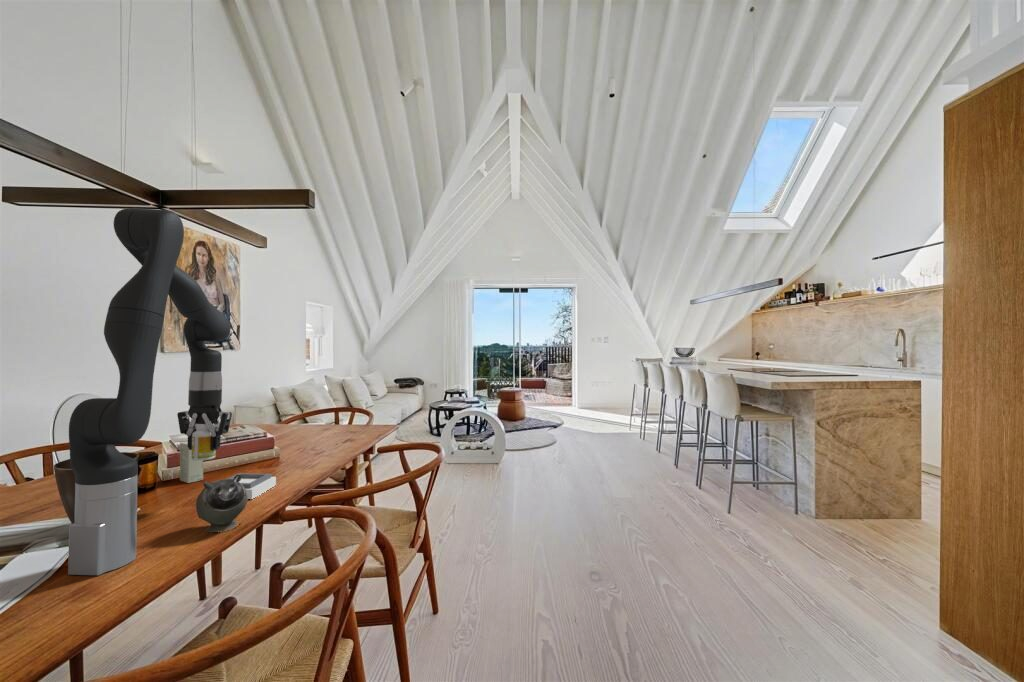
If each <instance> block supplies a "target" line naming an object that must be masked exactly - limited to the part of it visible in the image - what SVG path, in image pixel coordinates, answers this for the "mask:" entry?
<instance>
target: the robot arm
mask: <svg viewBox="0 0 1024 682" xmlns="http://www.w3.org/2000/svg"><path fill="white" fill-rule="evenodd" d="M113 218H114V219H113V229H114V233H115V235H116V237H117V239H118V240H119V242H120V243H121V244H122V246H123V247H124V248H125V249H126V250H127V251H128V252H129V253H130V254H131V255H132V256H133V258H134V259H136V261H138V263H139V264H140V265H141V267H140V268H139V270H138V271H137V272H136V273H135V274H134V275H133V276H132V277H131V278H129V280H128V281H127V282H126V283H125V284H124V285H123V286H122V287H121V288H120V289H119V290H118V291H116V294H114V296H113V297H112V298H111V300H110V302H109V304H108V305H109V306H108V307H107V308H108V309H107V313H106V317H105V320H104V321H105V323H104V327H103V334H104V335H103V337H104V340H105V343H106V344H107V347H108V349H109V350H110V353H111V355H112V356H113V359H114V361H115V363H116V365H117V367H118V372H119V386H118V392H117V397H116V398H115V397H114V398H113V397H107V398H106V397H101V398H100V397H95V398H88V399H86V400H83V401H82V402H80V403H78V404H77V405H76V406H75V408H74V410H73V411H72V412H71V416H70V419H69V423H68V444H69V446H68V447H69V459H70V464H71V468H72V471H73V472H74V474H75V482H76V483H75V523H73V524H72V523H71V524H70V525H69V526H68V559H67V561H68V568H67V574H68V575H73V576H74V575H75V576H100V575H102V574H104V573H107V572H110V571H114V570H116V569H119V568H122V567H124V566H126V565H129V564H130V563H132V561H134V560H135V559H136V558H137V541H138V540H137V536H138V535H137V531H138V530H137V528H138V527H137V526H138V524H137V523H138V521H137V520H138V481H139V480H138V476H139V475H138V472H139V464H138V463H139V462H138V463H137V461H136V460H135V459H133V458H130V457H128V456H126V455H124V454H122V453H120V451H119V450H118V449H117V447H116V445H117V446H122V445H132V444H133V445H134V444H135V443H137V442H139V440H140V439H142V438H143V437H144V435H145V433H146V431H147V430H148V428H149V423H150V419H151V413H152V402H153V401H152V400H153V388H154V387H153V386H154V373H155V369H156V368H155V366H156V362H157V361H156V360H157V357H158V356H157V354H158V349H159V343H160V340H161V336H162V330H163V327H164V326H163V325H164V321H165V316H166V308H167V302H168V298H170V300H171V301H172V303H173V305H174V306H175V307H176V309H177V311H178V312H179V313H180V315H181V316H182V317H184V318H185V321H184V323H183V336H184V337H185V341H186V344H187V347H188V352H189V355H190V367H189V369H190V370H189V371H190V372H189V378H188V403H187V404H188V406H189V409H188V410H185V411H183V410H182V411H179V412H177V414H176V415H177V422H178V429H179V432H180V434H181V435H183V434H184V435H186V436H187V442H188V448H189V450H192V434H193V433H194V432H195V431H197V429H196V428H195V427H196V424H206V426H207V428H208V429H209V430H210V432H211V435H212V436H213V437H211V450H216V451H217V450H218V449H219V448H220V446H221V436H222V435H224V434H227V433H228V432H229V429H230V425H231V421H232V416H233V413H232V412H231V411H223V410H222V409H221V405H222V402H223V399H222V397H223V376H222V366H223V365H222V363H223V362H222V361H223V360H222V359H223V357H222V356H223V355H222V353H221V351H219V350H215V349H211V348H208V347H207V344H206V343H205V342H221V341H224V340H226V339H228V337H229V336H230V334H231V325H230V322H229V321H228V318H227V317H226V316H225V315H224V314H223V313H222V312H221V311H220V310H219V309H218V308H217V307H216V306H215V305H214V304H213V303H211V302H210V301H209V299H208V297H207V295H206V294H205V291H204V290H203V289H202V287H201V285H200V284H199V283H198V282H197V281H196V280H195V278H193V277H192V276H191V275H190V274H188V273H187V272H186V271H184V270H183V269H182V268H180V266H177V264H178V260H179V258H180V253H181V251H182V248H183V242H184V237H185V229H184V224H183V221H182V219H181V218H180V216H179V215H178V214H177V213H175V212H174V211H171V210H168V209H167V210H166V209H160V208H159V209H157V208H156V209H155V208H135V207H134V208H131V207H130V208H129V207H128V208H123V209H121V210H118V211H117V213H116V214H115V216H114V217H113ZM190 419H191V420H190Z"/></svg>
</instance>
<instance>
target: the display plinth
mask: <svg viewBox="0 0 1024 682" xmlns="http://www.w3.org/2000/svg"><path fill="white" fill-rule="evenodd" d="M236 475H240V476H241V480H240V481H239V482H240V483H241V484H242V485H243V486H244V487H245V489H246V492H247V499H253V498H255V497H257V496H258V497H260V496H262V495H263V494H262V493H264V492H265V493H267V492H268V491H267V490H269V489H270V488H272V487H274V486H275V485H276V486H277V476H272V473H256V472H255V473H250V472H244V473H243V472H239V473H236V474H234V475H231V476H230V477H227V478H226V479H234V477H235V476H236ZM274 488H275V487H274ZM272 489H273V488H272ZM266 491H267V492H266ZM269 491H270V490H269ZM265 493H264V494H265ZM261 494H262V495H261ZM259 495H260V496H259ZM258 497H257V498H258ZM255 499H256V498H255ZM253 500H254V499H253Z"/></svg>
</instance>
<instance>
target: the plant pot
mask: <svg viewBox="0 0 1024 682" xmlns="http://www.w3.org/2000/svg"><path fill="white" fill-rule="evenodd" d="M119 452H120V451H119ZM120 453H122V454H124V455H126V456H128V457H130V458H133V459H135V460H136V461H137V463H139V456H140V455H139V454H138V453H135V452H130V451H129V452H127V451H126V452H124V451H121V452H120ZM53 472H54V476H55V482H56V486H57V490H58V494H59V498H60V500H61V503H62V506H63V508H64V511H65V513H66V515H67V517H68V520H69V522H70V523H71V524H73V523H75V483H76V482H75V474H74V472H73V471H72V468H71V464H70V458H69V459H65V460H62V461H59V462H57V463H55V464H54V465H53Z"/></svg>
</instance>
